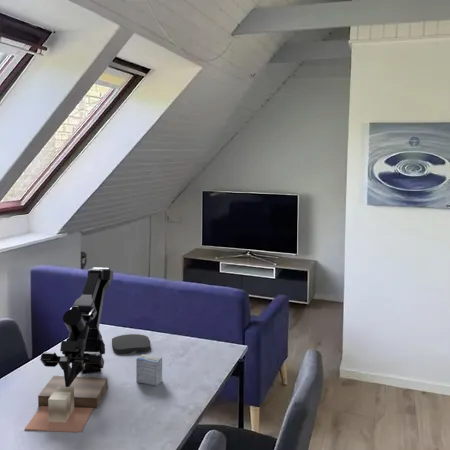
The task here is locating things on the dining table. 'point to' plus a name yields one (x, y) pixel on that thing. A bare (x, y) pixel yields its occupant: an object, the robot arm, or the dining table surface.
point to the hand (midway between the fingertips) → (67, 387)
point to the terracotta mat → (72, 425)
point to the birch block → (61, 404)
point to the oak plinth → (77, 391)
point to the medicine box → (149, 369)
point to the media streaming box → (131, 344)
